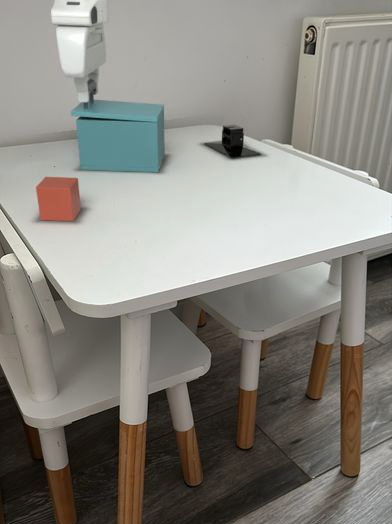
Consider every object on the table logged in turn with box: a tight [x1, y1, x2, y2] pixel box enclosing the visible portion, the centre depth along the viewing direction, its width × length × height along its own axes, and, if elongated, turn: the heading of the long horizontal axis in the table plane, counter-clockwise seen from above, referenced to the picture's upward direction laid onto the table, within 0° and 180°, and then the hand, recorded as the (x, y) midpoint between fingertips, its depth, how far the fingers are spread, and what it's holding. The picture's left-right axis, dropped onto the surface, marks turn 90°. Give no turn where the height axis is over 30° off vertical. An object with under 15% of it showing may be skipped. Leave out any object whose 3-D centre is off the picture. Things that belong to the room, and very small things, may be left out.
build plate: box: [204, 124, 262, 160], centre depth 117 cm, size 12×7×5 cm, turn 26°
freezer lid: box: [70, 79, 165, 122], centre depth 102 cm, size 15×12×5 cm
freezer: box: [75, 109, 166, 173], centre depth 106 cm, size 15×12×9 cm
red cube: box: [35, 176, 82, 222], centre depth 84 cm, size 5×5×5 cm
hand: (88, 97), depth 103 cm, fingers closed on freezer lid, 6 cm apart
